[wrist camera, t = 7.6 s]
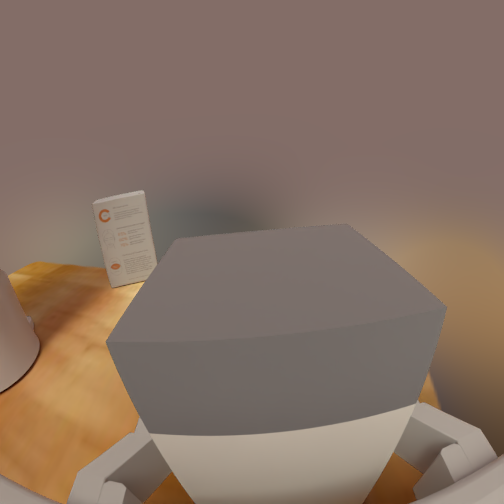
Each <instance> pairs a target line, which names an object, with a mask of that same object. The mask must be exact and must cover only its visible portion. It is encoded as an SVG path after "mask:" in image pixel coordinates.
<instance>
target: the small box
mask: <svg viewBox="0 0 504 504" xmlns="http://www.w3.org/2000/svg"><path fill="white" fill-rule="evenodd" d="M92 209H93V214H94V218H95V223H96V228H97V233H98V238H99V242H100V246H101V250H102V255H103V259H104V263H105V267H106V271H107V275H108V278H109V282H110V285H111V288H115V287H119V286H123V285H127V284H132V283H136V282H141V281H145V280H147V278H148V277H149V275H150V274H151V273H152V271H153V270H154V268H155V267H156V266H157V264H158V263H157V258H156V253H155V247H154V242H153V237H152V232H151V226H150V220H149V215H148V209H147V202H146V196H145V193H144V191H143V190H141V191H135V192H131V193H126V194H121V195H116V196H112V197H107V198H103V199H98V200H96V201H95V202H94V203H93V204H92Z"/></svg>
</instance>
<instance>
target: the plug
mask: <svg viewBox="0 0 504 504" xmlns="http://www.w3.org/2000/svg"><path fill="white" fill-rule="evenodd" d="M446 309H447V307H446V306H445V305H444V304H443V303H442V302H441V301H440V300H439V299H438V298H437V297H436V296H434V295H433V294H432V293H431V292H430V291H429V290H428V289H426V288H425V287H424V286H423V285H422V284H421V283H420V282H418V281H417V280H416V279H415V278H414V277H413V276H411V275H410V274H409V273H408V272H407V271H405V270H404V269H403V268H402V267H401V266H400V265H398V264H397V263H396V262H395V261H393V260H392V259H391V258H390V257H389V256H387V255H386V254H385V253H384V252H383V251H381V250H380V249H379V248H378V247H376V246H375V245H374V244H372V243H371V242H370V241H369V240H367V239H366V238H365V237H363V236H362V235H361V234H360V233H358V232H357V231H356V230H354V229H353V228H352V227H351V226H349V225H348V224H338V225H323V226H311V227H298V228H285V229H273V230H263V231H251V232H240V233H228V234H219V235H208V236H197V237H188V238H177V239H175V241H174V242H173V243H172V245H171V246H170V248H169V249H168V250H167V252H166V253H165V254H164V256H163V257H162V259H161V260H160V261H159V263H158V264H157V266H156V267H155V268H154V270H153V271H152V273H151V274H150V275H149V277H148V278H147V280H146V281H145V283H144V284H143V286H142V287H141V288H140V290H139V291H138V293H137V294H136V296H135V297H134V299H133V300H132V302H131V303H130V305H129V306H128V308H127V309H126V311H125V312H124V314H123V315H122V317H121V318H120V320H119V322H118V323H117V325H116V326H115V328H114V329H113V331H112V332H111V334H110V336H109V337H108V339H107V340H106V344H107V346H108V349H109V351H110V354H111V356H112V359H113V361H114V363H115V366H116V368H117V370H118V373H119V375H120V377H121V379H122V381H123V384H124V386H125V388H126V390H127V392H128V394H129V396H130V398H131V400H132V402H133V404H134V406H135V408H136V410H137V412H138V414H139V416H140V418H141V420H142V421H143V423H144V425H145V427H146V429H147V431H148V432H149V434H150V436H151V438H152V439H153V441H154V443H155V444H156V446H157V448H158V449H159V451H160V453H161V454H162V456H163V458H164V459H165V461H166V462H167V464H168V465H169V467H170V469H171V470H172V472H173V473H174V475H175V476H176V478H177V479H178V480H179V482H180V483H181V485H182V486H183V488H184V489H185V490H186V492H187V493H188V495H189V496H190V497H191V499H192V500H193V501H194V503H195V504H362V503H363V502H364V500H365V499H366V497H367V496H368V494H369V493H370V491H371V490H372V488H373V486H374V485H375V483H376V482H377V480H378V478H379V477H380V475H381V473H382V471H383V470H384V468H385V466H386V464H387V463H388V461H389V459H390V457H391V455H392V453H393V452H394V450H395V448H396V446H397V444H398V442H399V440H400V438H401V436H402V434H403V432H404V429H405V427H406V425H407V423H408V421H409V419H410V416H411V414H412V412H413V409H414V407H415V405H416V402H417V400H418V397H419V395H420V392H421V390H422V387H423V385H424V382H425V379H426V376H427V374H428V371H429V368H430V365H431V362H432V359H433V356H434V353H435V349H436V346H437V343H438V339H439V336H440V332H441V329H442V325H443V321H444V317H445V313H446Z"/></svg>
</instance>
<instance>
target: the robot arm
mask: <svg viewBox="0 0 504 504" xmlns="http://www.w3.org/2000/svg"><path fill="white" fill-rule="evenodd" d="M33 329H34V322H33V320H32V318H31V317H30V316H26V315H25V313H24V311H23V309H22V307H21V305H20V303H19V300H18V298H17V296H16V294H15V292H14V289H13V287H12V285H11V283H10V280H9V278H8V276H7V274H6V273H5V272H4V271H3V270H1V269H0V392H1V391H3V390H5V389H6V388H8V387H9V386H11V385H12V384H13V383H15V382H16V381H17V380H18V379H19V378H20V377H22V376H23V374H24V373H25V372H26V371H27V370H28V369H29V368H30V366H31V365H32V364H33V362H34V360H35V359H36V357H37V354H38V351H39V346H40V343H39V339H38V337H37V335H36V334H35V333H34V331H33ZM394 453H396V454H397V455H398V456H400V457H401V458H402V459H404V460H405V461H406V462H408V463H409V464H410V465H412V466H413V467H414V468H416V469H417V470H419V471H420V472H421V473H423V476H422V477H421V478H420V479H419V481H418V482H417V483H416V484H415V486H414V487H413V491H414V494H415V496H416V499H417V501H414V502H412V503H409V504H504V454H503V455H502V456H500V457H497V455H496V454H495V452H494V450H493V449H492V447H491V446H490V444H489V442H488V441H487V439H486V438H485V436H484V434H483V433H482V431H481V430H480V429H479V428H477V427H474V426H472V425H470V424H468V423H466V422H464V421H461V420H459V419H457V418H455V417H453V416H451V415H449V414H447V413H445V412H443V411H441V410H439V409H437V408H435V407H433V406H431V405H429V404H427V403H425V402H423V403H419V401H418V400H417V402H416V405H415V407H414V409H413V412H412V414H411V416H410V419H409V421H408V423H407V425H406V427H405V429H404V432H403V434H402V436H401V438H400V440H399V442H398V444H397V446H396V448H395V450H394ZM171 472H172V470H171V469H170V467H169V465H168V464H167V462H166V461H165V459H164V458H163V456H162V454H161V453H160V451H159V449H158V448H157V446H156V444H155V443H154V441H153V439H152V438H151V436H150V434H149V432H148V431H147V429H146V427H145V425H144V423H143V421H142V420H141V418H140V417H139V420H138V423H137V426H136V429H135V432H134V433H129V434H127V435H126V436H125V437H124V438H122V439H121V440H120V441H118V442H117V443H116V444H115V445H113V446H112V447H111V448H109V449H108V450H107V451H105V452H104V453H103V454H101V455H100V456H99V457H97V458H96V459H95V460H93V461H92V462H91V463H89V464H88V465H87V466H85V467H84V468H82V469H81V470H80V471H78V474H77V476H76V479H75V482H74V484H73V487H72V490H71V492H70V495H69V498H68V501H67V504H143V503H144V502H145V501H146V500H147V499H148V497H149V496H150V495H151V494H152V493H153V492H154V491H155V490H156V489H157V488H158V486H159V485H160V484H161V483H162V482H163V481H164V480H165V479H166V477H167V476H168V475H169V474H170V473H171ZM0 504H62V503H59V502H57V501H54V500H52V499H49V498H47V497H45V496H43V495H40V494H38V493H36V492H34V491H32V490H30V489H28V488H26V487H24V486H22V485H20V484H18V483H16V482H14V481H12V480H10V479H8V478H7V477H5V476H3V475H1V474H0Z"/></svg>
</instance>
